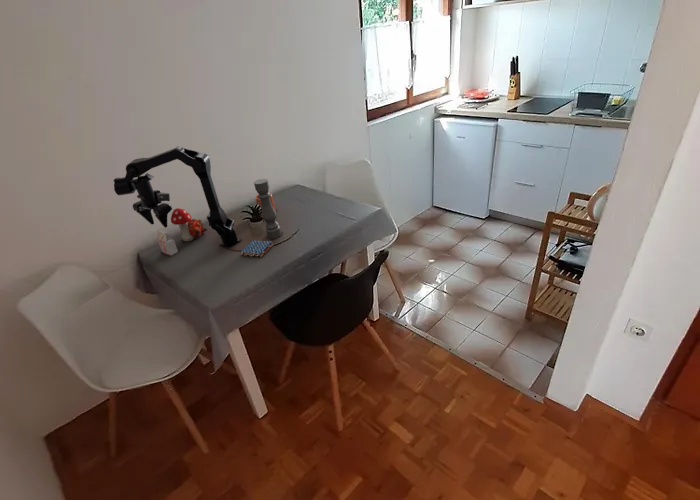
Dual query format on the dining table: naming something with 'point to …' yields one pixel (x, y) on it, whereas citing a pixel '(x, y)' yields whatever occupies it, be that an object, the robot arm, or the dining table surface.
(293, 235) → the dining table surface
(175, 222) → the decorative mushroom
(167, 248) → the white printed carton
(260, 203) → the terracotta cup
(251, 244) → the woven mat
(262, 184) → the candle holder
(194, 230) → the dragon fruit
